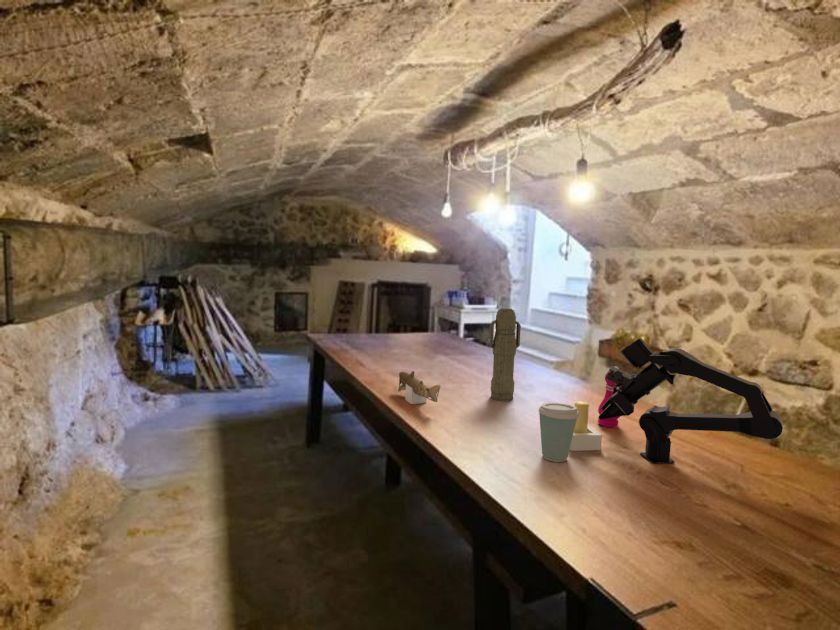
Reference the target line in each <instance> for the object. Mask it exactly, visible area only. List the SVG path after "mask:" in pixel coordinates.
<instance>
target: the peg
mask: <svg viewBox="0 0 840 630" xmlns="http://www.w3.org/2000/svg"><path fill="white" fill-rule="evenodd" d="M574 406H575V407H577V411H578V412H579V416H578V418H577V420H576V424H575V429H574V433H587V426H588V425H589V423H588V421H589V411H590V409H589V408H590V404H589V403H588V402H586V401H579V400H578V401H575V402H574Z"/></svg>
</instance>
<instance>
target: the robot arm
mask: <svg viewBox="0 0 840 630" xmlns="http://www.w3.org/2000/svg"><path fill="white" fill-rule="evenodd" d="M619 353H620V354H621V355H622V356H623V358H625V360H626V361H627V362H628V364H630V365H631V366H632V368H636V369H637V368H639V369H641V370H640V371H639V372H638V373H632V374H631V375H629V374H627V373H626V372H624V371H622V370H620V369H617V368H615V366H613V365H612V366H610V368H609V369H608V371H607V372H608V373H607V372H606V373H607V374H606V373H605V375H606V377H605V376H604V379H605V378H606V379H608V380H609V381H610V380H611V381H613V382H614V383H616V384H615V385H614V389H613V394H612V396H611V397H610V398H609V399H608V400H607V402H606V403H605V404H604V405H603V406H602V407H601V409H602V410H603V412H602V413H601V414H599V415H598V418H600V419H601V420H603V419H608V418H613V417H619V416H620V417H626V416H631V414H633V413H634V412H635V405H636V404H638V402H639V400H640V399H642V398H643V397H645V396H648V395H650V394H651V391H653V390H654V389H656V388H657V387H658V386H660V385H662V384H663V383H664V382H666V381H667V382H668V383H669V384H670V385H672V386H673V385H674V384H675V377H676V374H677V375H682V376H686V377H687V376H689V377H693V378H697V379H699V380H702V381H704V382H706V383H709V384H712V385H714V386H715V387H718V388H721V389H724V390H725V391H728V392H731V393H732V394H735V395H737V396H740V397H743V398H744V399H745V402H746V403H747V404H746V405H747V407H748V408H749V411H747V412H744V413H740V414H727V413H726V414H724V413H723V414H722V413H721V414H718V413H717V414H716V413H681V412H680V413H677V412H676V411H675V412H674V411H671V410H670V409H671V407H670V405H665V406H657V405H653V407H649V408H648V409H646V410H645V412H643V414H641V416H640V417H639V419H638V426H639V427H640V429H641V430H642V431H643V432H644V435H645V452H642V451H641V452H639V453H640V456H642V457H643V458H645V459H646V460H648V461H649V462H650V463H652V464H674V463H675V460H674V459H672V458H671V446H672V441H671V438H670V436H672V434H673V432H674V431H677V430H680V431H681V430H682V431H705V432H706V431H708V432H728V433H729V432H730V433H731V432H732V433H733V432H734V433H740V434H744V435H747V436H751V437H754V438H759V439H766V440H774V439H777V438H778V437H780V436H781V435H782V433H783V425H784V424H783V422H784V421H783V418H782V416H781V415H780V414H779V413H778V412H776V411H775V410H773V408H772V406H771V404H770V403H769V401H768V399H767V397H766V395H765V394H764V391H763V388H762V387H761V385H760V384H758V383H756V382H753V381H749V380H747V379H744V378H742V377H740V376H737V375H735V374H732V373H729V372H727V371H725V370H722V369H720V368H717V367H715V366H712V365H710V364H707V363H705V362H703V361H701V360H700V359H698V358H697V357H695V355H693V354H692V353H689V352H688V351H685V350H684V349H682V348H679V347H673V348H671V349H669V350H666V351H654V352H653V350H651V348H650V347H649V346H648V345H647V344H646V342H645V340H643V339H642V337H639V338H638V339H636V340H635V341H633V342H632V343H630V344H628V345H626V346H625V347H624V348H623V349H622V350H621V351H619ZM648 363H650V364H648ZM646 364H647V366H646ZM644 366H645V367H644ZM643 367H644V368H643ZM642 368H643V369H642ZM670 372H671V373H670ZM617 386H618V387H617ZM620 417H619V418H620Z"/></svg>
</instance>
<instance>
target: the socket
mask: <svg viewBox="0 0 840 630" xmlns="http://www.w3.org/2000/svg"><path fill="white" fill-rule="evenodd" d="M602 441H603V435H602V433H600V432H599V431H598V430H596V429H595V428H593V426H591V425H589V424H588V426H587V433H573V437H572V441H571V445H570V449H569V452H572V451H573V452H575V451H576V452H577V451H580V452H581V451H602Z"/></svg>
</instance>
